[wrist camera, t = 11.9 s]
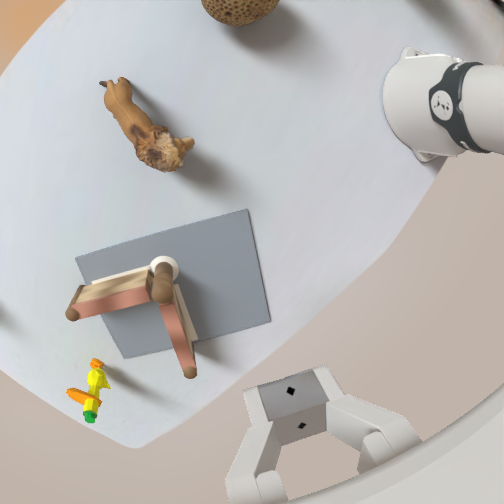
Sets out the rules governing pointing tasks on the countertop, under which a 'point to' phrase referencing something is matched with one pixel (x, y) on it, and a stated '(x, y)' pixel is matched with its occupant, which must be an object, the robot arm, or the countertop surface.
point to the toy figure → (91, 391)
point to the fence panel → (179, 335)
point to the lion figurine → (144, 129)
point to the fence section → (122, 292)
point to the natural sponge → (238, 10)
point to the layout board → (186, 282)
